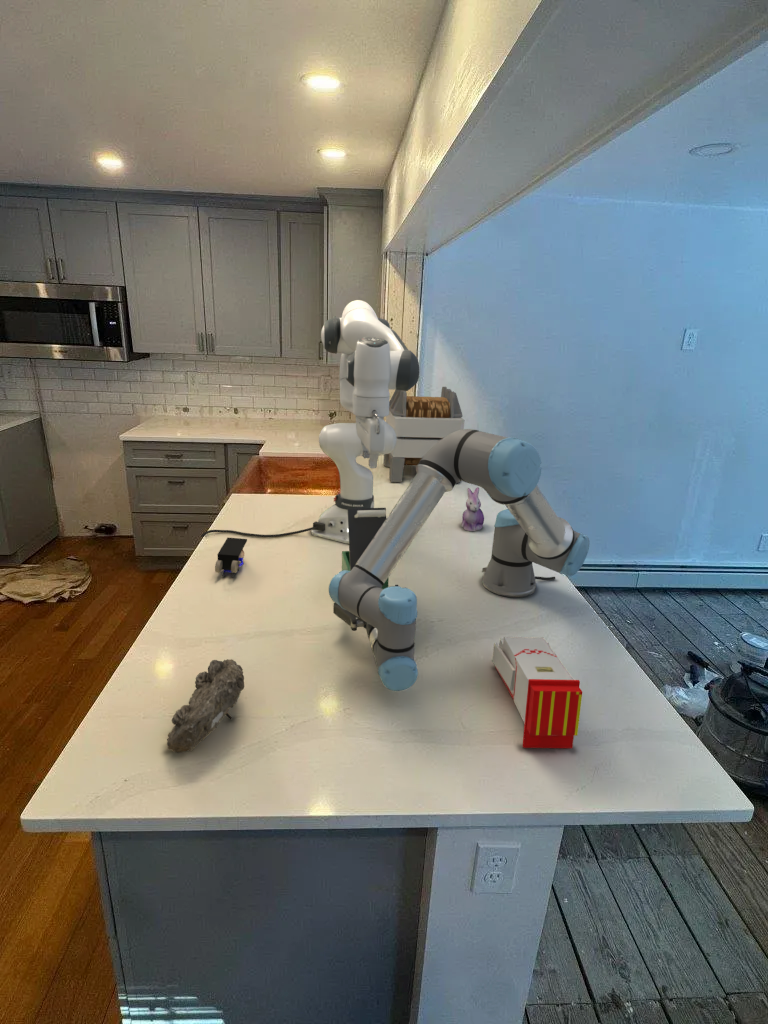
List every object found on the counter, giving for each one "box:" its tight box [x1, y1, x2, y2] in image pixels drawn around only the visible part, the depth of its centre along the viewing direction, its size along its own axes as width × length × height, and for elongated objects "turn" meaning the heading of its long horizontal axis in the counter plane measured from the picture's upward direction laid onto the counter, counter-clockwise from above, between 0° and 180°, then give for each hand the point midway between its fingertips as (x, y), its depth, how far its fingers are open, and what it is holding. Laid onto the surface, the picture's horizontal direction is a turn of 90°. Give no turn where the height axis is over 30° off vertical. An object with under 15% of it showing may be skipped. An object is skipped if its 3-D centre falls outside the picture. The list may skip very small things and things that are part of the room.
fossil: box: [166, 658, 245, 754], centre depth 106 cm, size 22×10×15 cm
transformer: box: [383, 386, 465, 484], centre depth 268 cm, size 34×33×41 cm
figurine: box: [461, 486, 485, 532], centre depth 206 cm, size 9×10×15 cm
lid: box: [347, 507, 387, 571], centre depth 144 cm, size 17×10×8 cm
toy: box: [491, 636, 583, 749], centre depth 115 cm, size 12×13×30 cm
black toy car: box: [214, 537, 248, 578], centre depth 166 cm, size 7×8×15 cm
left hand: (369, 462), depth 143 cm, fingers open, 8 cm apart
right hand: (370, 590), depth 144 cm, fingers open, 13 cm apart
